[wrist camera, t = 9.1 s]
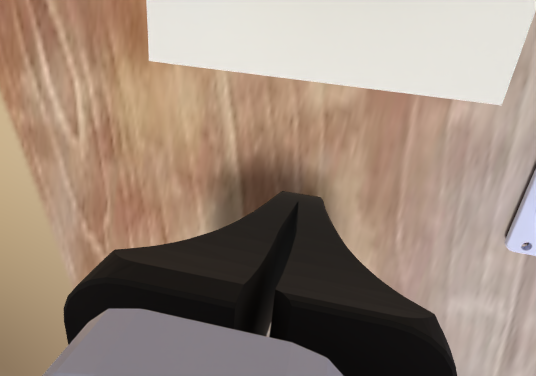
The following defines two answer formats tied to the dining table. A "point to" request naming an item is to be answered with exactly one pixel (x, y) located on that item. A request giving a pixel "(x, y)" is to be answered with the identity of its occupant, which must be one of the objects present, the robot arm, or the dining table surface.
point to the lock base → (351, 42)
